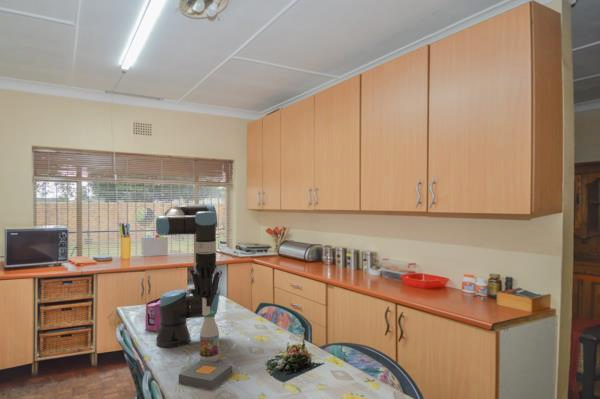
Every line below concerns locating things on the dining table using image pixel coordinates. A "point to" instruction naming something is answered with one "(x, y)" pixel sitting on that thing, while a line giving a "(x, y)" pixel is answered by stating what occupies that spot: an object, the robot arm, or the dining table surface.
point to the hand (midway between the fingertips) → (206, 314)
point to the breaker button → (206, 369)
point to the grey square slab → (204, 379)
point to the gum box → (153, 315)
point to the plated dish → (291, 363)
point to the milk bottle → (209, 339)
